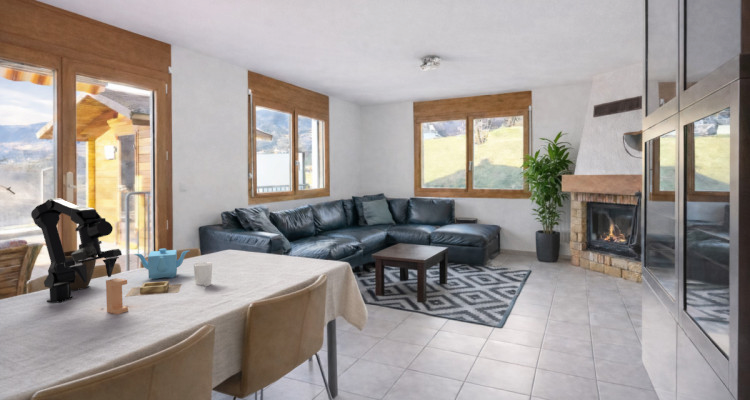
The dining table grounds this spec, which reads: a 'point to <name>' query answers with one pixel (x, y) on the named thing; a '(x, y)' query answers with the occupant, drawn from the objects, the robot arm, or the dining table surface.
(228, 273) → the dining table surface
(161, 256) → the teakettle
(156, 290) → the brown tray
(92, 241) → the robot arm
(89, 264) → the plant pot
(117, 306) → the c link
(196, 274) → the white cup
